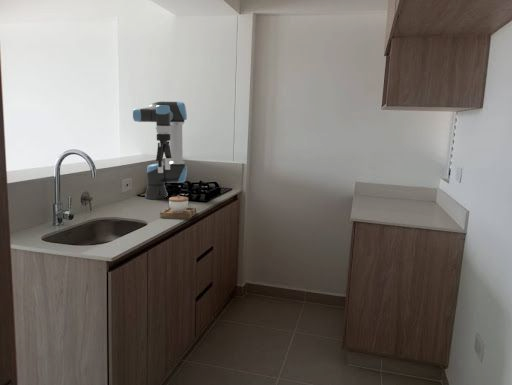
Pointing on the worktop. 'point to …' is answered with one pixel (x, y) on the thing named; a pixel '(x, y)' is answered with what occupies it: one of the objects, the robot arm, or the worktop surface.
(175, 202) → the lidded jar
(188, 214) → the wooden tray
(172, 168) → the robot arm
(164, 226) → the worktop surface
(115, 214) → the worktop surface
